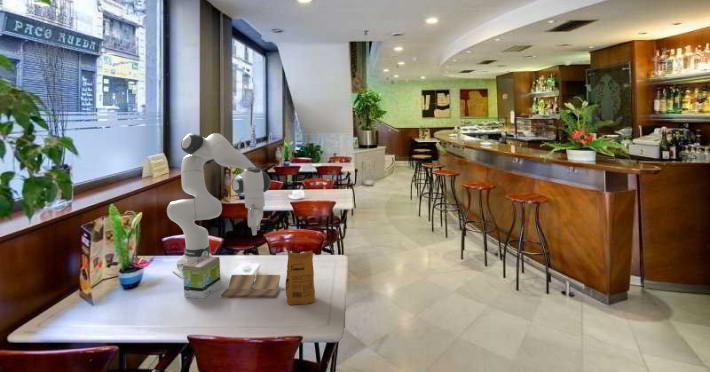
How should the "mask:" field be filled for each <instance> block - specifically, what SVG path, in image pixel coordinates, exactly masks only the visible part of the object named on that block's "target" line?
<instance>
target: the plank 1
mask: <svg viewBox="0 0 710 372" xmlns="http://www.w3.org/2000/svg"><path fill="white" fill-rule="evenodd" d="M255 280H256V275H255V274H231V275H230V280H229V284H228V287H227V289H253V288H254V284H255Z"/></svg>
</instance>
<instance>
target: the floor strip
mask: <svg viewBox="0 0 710 372" xmlns="http://www.w3.org/2000/svg"><path fill="white" fill-rule="evenodd" d="M278 293H279V288H278V289H254V288H252V289H228V288H225V290H224V291H223V292H222V293H221V294H220V299H225V298H226V299H230V298H231V299H236V298H237V299H275V298H276V297H277V295H278Z"/></svg>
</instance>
